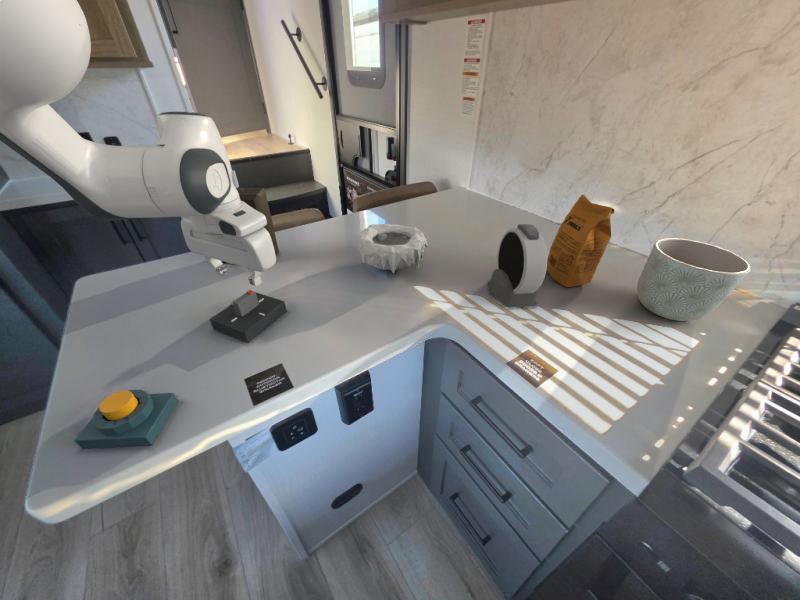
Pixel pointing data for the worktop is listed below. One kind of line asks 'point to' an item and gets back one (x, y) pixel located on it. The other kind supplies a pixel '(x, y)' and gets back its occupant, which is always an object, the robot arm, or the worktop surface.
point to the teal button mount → (130, 423)
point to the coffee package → (580, 243)
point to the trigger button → (118, 405)
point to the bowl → (391, 246)
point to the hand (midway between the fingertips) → (238, 278)
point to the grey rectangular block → (245, 303)
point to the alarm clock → (519, 266)
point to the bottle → (257, 206)
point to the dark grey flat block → (249, 319)
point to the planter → (688, 278)
